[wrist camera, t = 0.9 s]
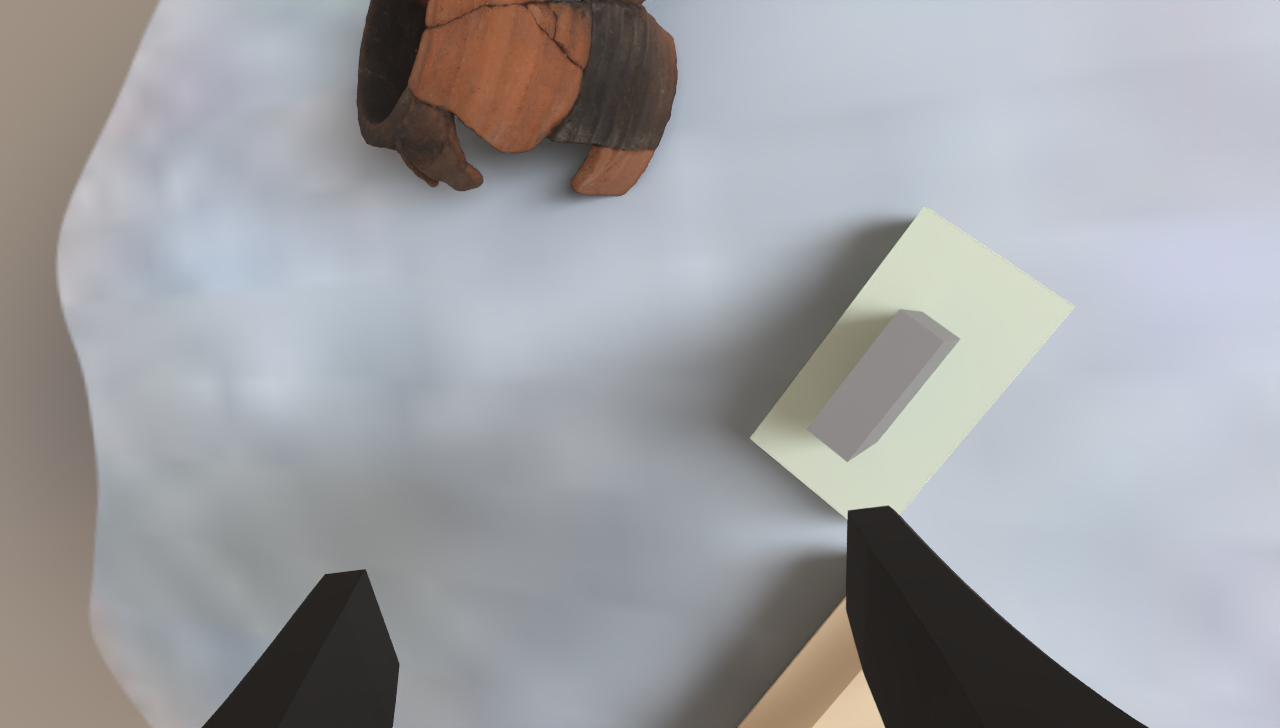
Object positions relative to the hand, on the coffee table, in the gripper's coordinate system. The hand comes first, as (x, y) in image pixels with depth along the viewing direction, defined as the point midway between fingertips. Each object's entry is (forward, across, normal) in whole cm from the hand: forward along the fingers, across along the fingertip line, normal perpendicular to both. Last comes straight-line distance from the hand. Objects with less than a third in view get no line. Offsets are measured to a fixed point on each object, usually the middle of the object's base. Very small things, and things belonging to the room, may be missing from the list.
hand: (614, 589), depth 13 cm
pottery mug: (+22, 0, -3) cm, 23 cm away
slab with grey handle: (+12, -9, +5) cm, 16 cm away
